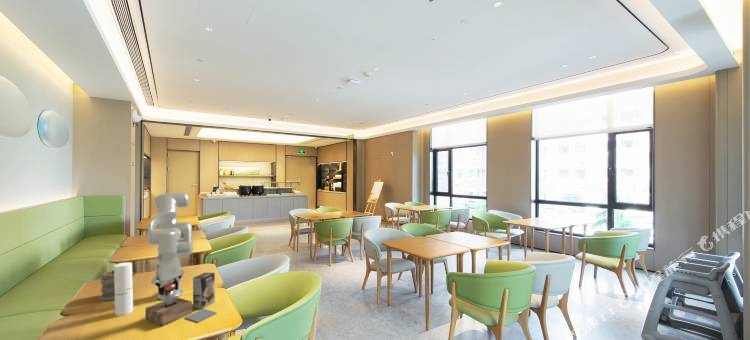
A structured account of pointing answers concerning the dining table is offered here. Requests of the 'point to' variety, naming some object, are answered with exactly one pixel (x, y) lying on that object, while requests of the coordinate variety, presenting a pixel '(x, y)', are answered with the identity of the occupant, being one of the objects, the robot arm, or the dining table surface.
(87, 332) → the dining table surface
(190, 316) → the mat
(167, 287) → the red topped grey cylinder
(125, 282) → the cylindrical container
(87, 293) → the dining table surface
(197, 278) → the coffee box
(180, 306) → the block
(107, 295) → the tankard
